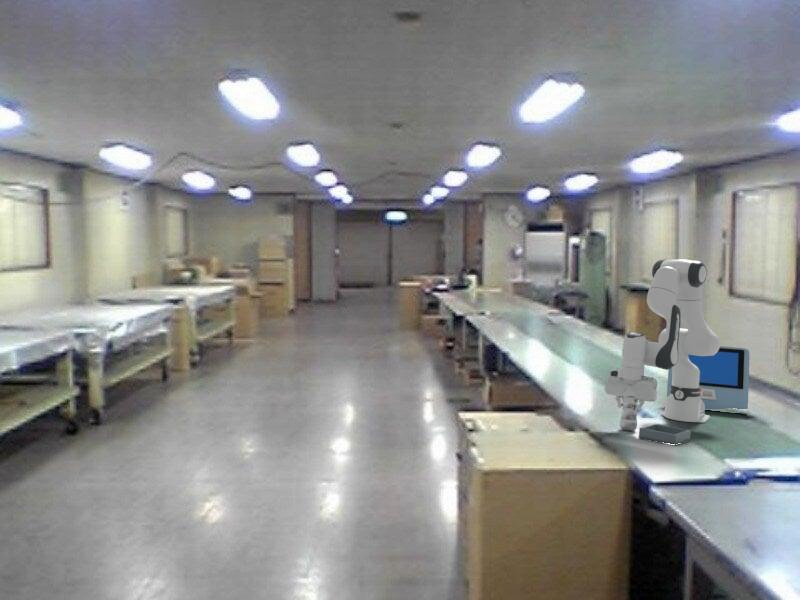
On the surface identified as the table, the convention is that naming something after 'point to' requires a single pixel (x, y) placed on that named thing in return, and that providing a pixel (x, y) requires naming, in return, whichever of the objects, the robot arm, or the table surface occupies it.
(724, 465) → the table surface
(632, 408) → the plastic bottle
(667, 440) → the box
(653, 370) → the table surface
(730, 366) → the touchscreen device
